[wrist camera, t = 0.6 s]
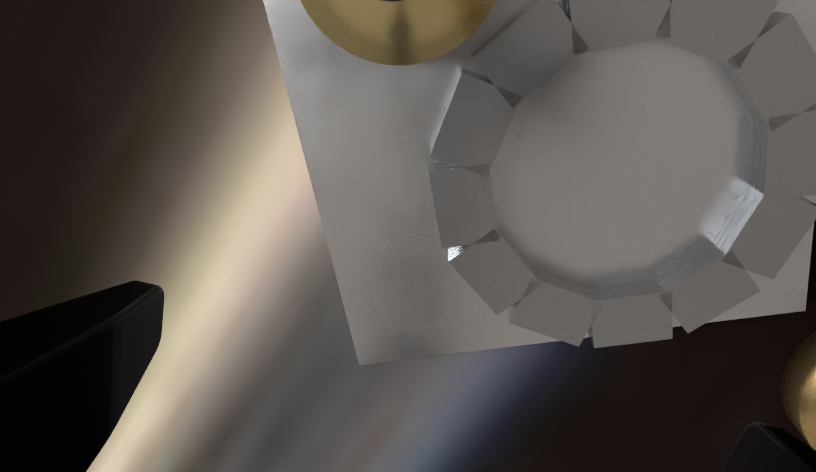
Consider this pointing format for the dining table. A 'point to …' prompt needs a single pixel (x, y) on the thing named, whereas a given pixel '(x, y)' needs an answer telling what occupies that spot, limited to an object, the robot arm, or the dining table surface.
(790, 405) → the gear
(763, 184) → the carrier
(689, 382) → the dining table surface
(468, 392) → the dining table surface
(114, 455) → the dining table surface
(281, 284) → the dining table surface
